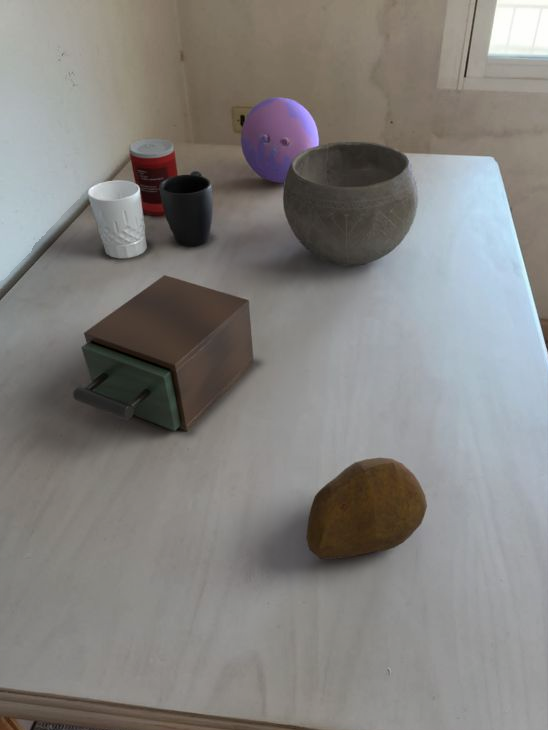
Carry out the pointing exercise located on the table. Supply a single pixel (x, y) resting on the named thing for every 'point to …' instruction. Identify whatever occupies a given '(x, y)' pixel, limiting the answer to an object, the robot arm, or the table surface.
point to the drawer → (128, 387)
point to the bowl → (350, 200)
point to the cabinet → (184, 339)
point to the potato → (365, 510)
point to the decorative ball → (276, 137)
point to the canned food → (152, 171)
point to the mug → (188, 207)
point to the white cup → (119, 217)
